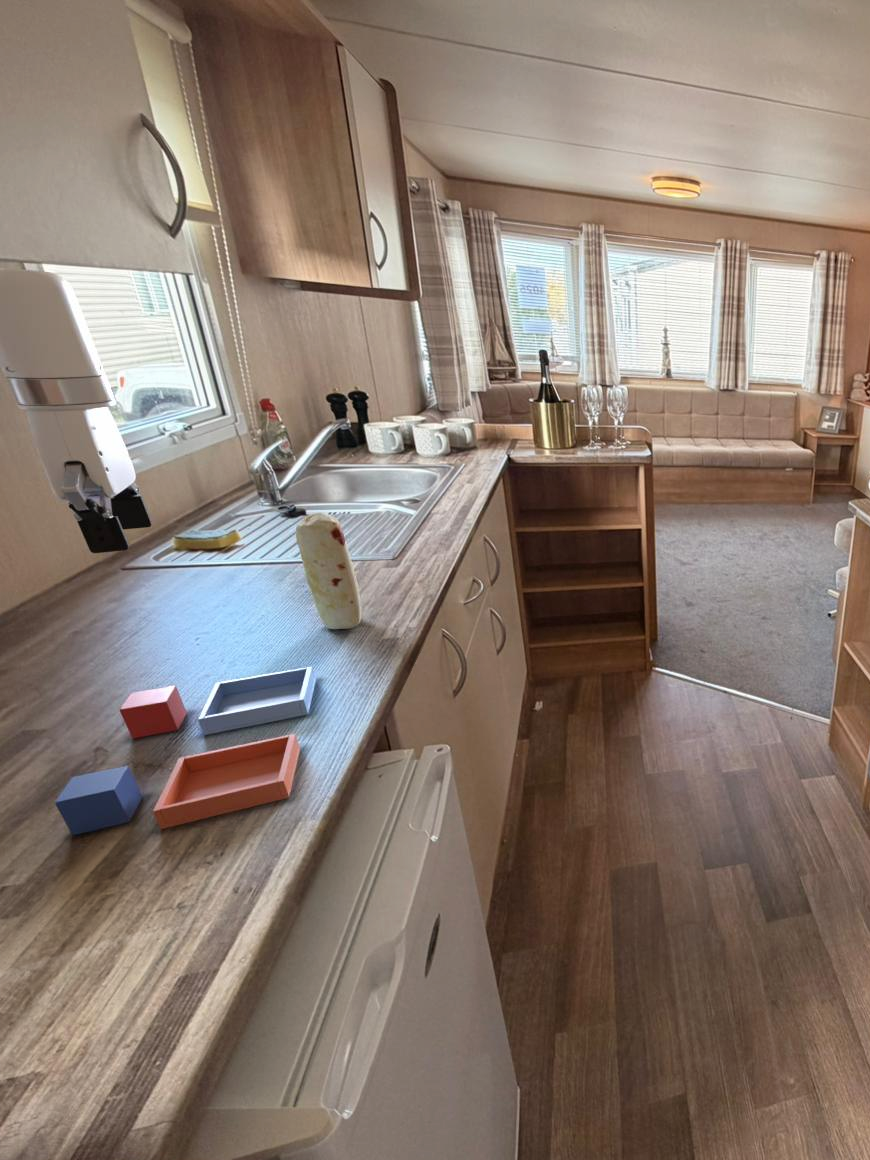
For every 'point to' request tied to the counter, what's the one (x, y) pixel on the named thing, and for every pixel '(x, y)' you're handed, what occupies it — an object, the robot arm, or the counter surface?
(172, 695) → the red block
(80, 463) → the robot arm
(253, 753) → the red tray
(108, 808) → the blue block
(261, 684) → the blue tray
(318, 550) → the food model
